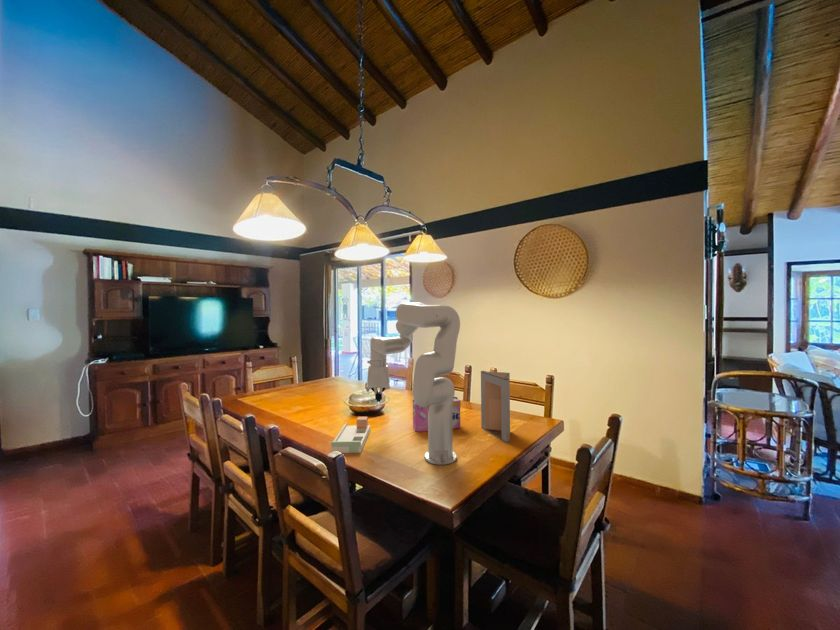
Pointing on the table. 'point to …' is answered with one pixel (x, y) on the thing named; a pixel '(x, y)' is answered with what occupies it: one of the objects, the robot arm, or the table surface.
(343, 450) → the tray
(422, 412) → the gum box
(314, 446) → the table surface
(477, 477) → the table surface
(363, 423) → the block
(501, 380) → the cabinet
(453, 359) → the robot arm
